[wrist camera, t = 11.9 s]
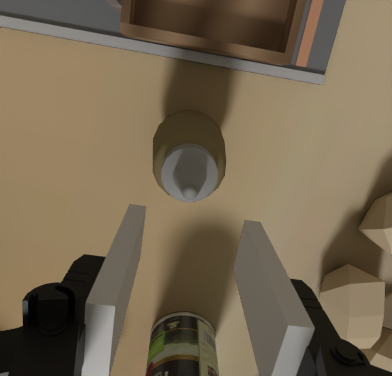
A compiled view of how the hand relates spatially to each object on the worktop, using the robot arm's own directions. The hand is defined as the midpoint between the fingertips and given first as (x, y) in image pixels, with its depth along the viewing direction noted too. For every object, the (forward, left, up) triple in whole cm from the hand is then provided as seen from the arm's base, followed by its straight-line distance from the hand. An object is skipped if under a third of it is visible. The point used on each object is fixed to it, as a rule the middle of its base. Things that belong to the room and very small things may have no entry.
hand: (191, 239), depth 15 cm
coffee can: (+4, -31, -25) cm, 40 cm away
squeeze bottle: (0, 0, -25) cm, 25 cm away
